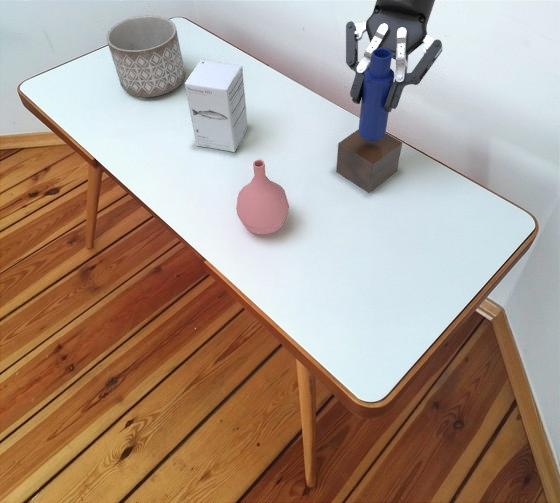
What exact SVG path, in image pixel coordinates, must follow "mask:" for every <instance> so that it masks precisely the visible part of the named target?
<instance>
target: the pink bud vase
mask: <svg viewBox="0 0 560 503" xmlns="http://www.w3.org/2000/svg"><path fill="white" fill-rule="evenodd" d="M252 167H253V178H252V179H251V181H250V182H249V183H248V184H245V185H244V186H243V187H242V188H241V189H240V190H239V191H238V195H237V200H236V207H235V209H236V215H237V217H238V219H239V221H240V222H241V223H242V225H243V226H244V228H245V230H247V231H249V232H251V233H253V234H257V235H269V234H273V233H275V232H277V231H278V230H280V229H281V228H282V227H283V225H284V224H285V223H286V220H287V217H288V215H289V210H290V204H289V200H288V198H287V193H286V190H285V189H284V188H283V187H282V186H281V185H280V184H279V183H277V182H275V181H272V180H270V179H269V177H268V176H267V175H266V165H265V161H264V160H263V159H256V160H254V161H253V163H252Z"/></svg>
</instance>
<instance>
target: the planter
mask: <svg viewBox="0 0 560 503" xmlns="http://www.w3.org/2000/svg"><path fill="white" fill-rule="evenodd" d="M105 37H106V38H105V40H106V43H107V46H108V49H109V52H110V55H111V58H112V61H113V65H114V68H115V71H116V75H117V77H118V81H119V84H120V87H121V88H122V89H123V90H124V91H125V92H127V93H128V94H130V95H133V96H136V97H141V98H150V97H158V96H163V95H165V94H168V93H170V92H172V91H174V90H176V89H177V88H179V86H181V84H182V83H183V82H184V80H185V76H186V71H185V70H186V69H185V64H184V60H183V55H182V49H181V45H180V42H179V40H180V39H179V35H178V30H177V26H176V24H175V23H174V22H173V21H172V20H171V19H169V18H167V17H165V16H161V15H154V14H152V15H151V14H150V15H148V14H147V15H144V14H143V15H137V16H132V17H129V18H126V19H123V20H121V21H119V22H117V23H115V24H114V25H113V26H111V27H110V29H109V30H108V31H107V33H106V36H105Z"/></svg>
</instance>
